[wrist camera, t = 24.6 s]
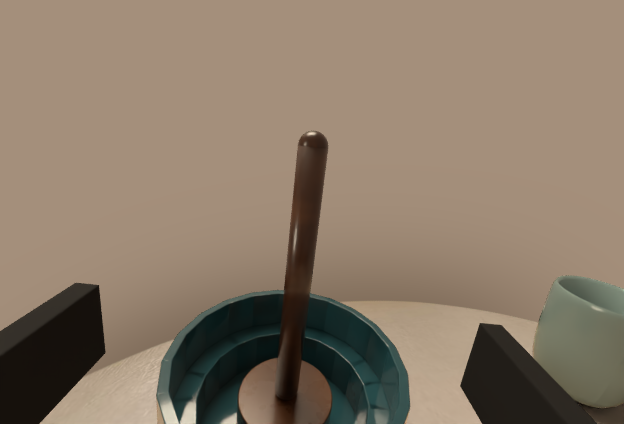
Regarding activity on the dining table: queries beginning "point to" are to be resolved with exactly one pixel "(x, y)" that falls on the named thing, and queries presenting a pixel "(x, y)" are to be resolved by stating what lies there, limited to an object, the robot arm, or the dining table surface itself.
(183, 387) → the bowl
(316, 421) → the wooden peg stand
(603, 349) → the cup
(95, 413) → the dining table surface
